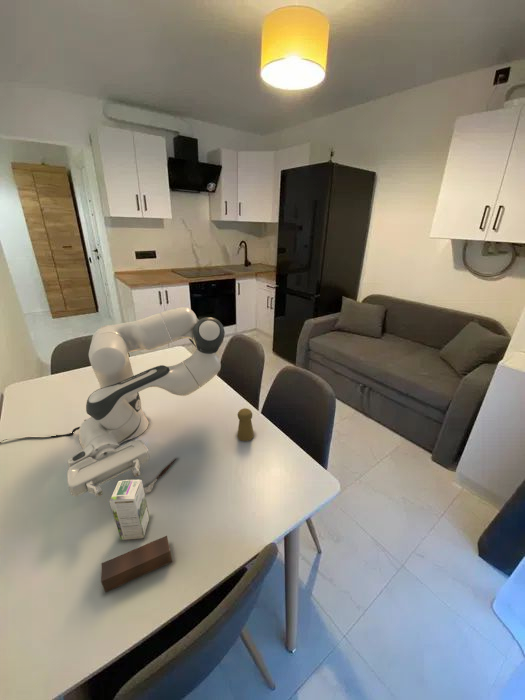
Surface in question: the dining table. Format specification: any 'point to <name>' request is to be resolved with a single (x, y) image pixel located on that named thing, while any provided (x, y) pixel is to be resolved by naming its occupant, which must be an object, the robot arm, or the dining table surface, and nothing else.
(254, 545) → the dining table surface
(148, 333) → the robot arm
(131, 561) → the walnut block
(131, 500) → the syrup box
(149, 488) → the fork
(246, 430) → the olive brown hourglass shape
